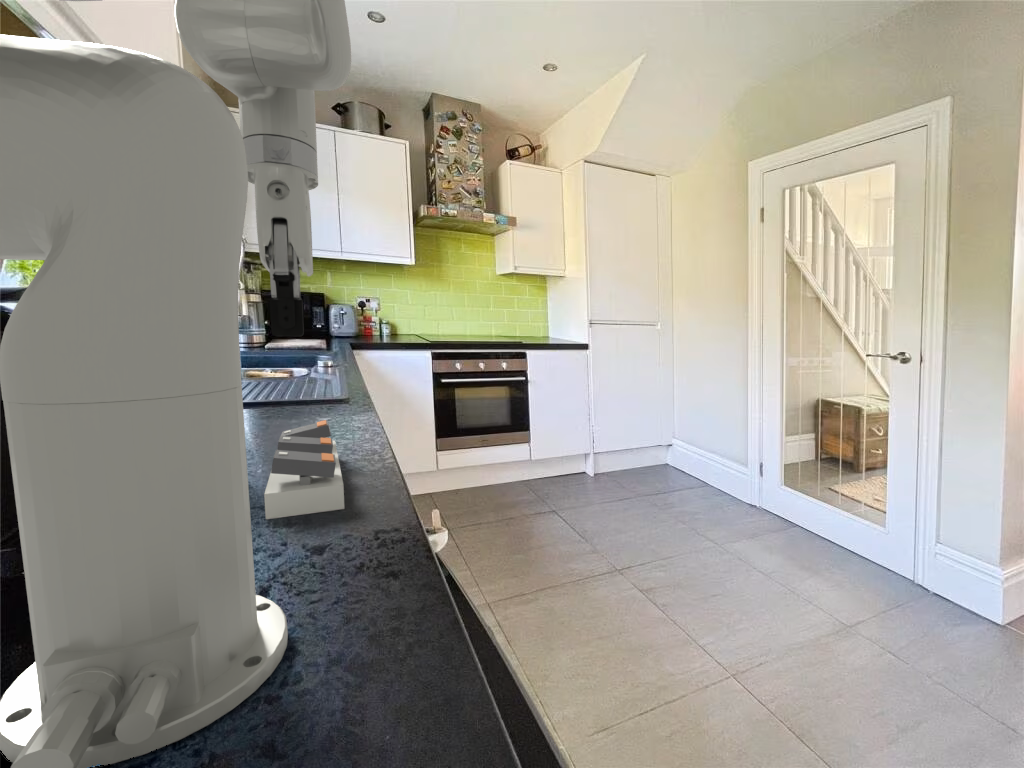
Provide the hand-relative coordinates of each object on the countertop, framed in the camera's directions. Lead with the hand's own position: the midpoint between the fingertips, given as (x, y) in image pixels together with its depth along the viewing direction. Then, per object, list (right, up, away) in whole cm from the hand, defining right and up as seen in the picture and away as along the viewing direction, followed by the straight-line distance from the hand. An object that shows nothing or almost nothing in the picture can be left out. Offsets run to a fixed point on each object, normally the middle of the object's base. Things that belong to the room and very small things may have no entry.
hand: (288, 335), depth 54 cm
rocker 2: (0, -13, +5) cm, 14 cm away
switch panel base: (0, -18, +5) cm, 18 cm away
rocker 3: (+3, -14, -3) cm, 14 cm away
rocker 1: (-3, -12, +12) cm, 18 cm away
